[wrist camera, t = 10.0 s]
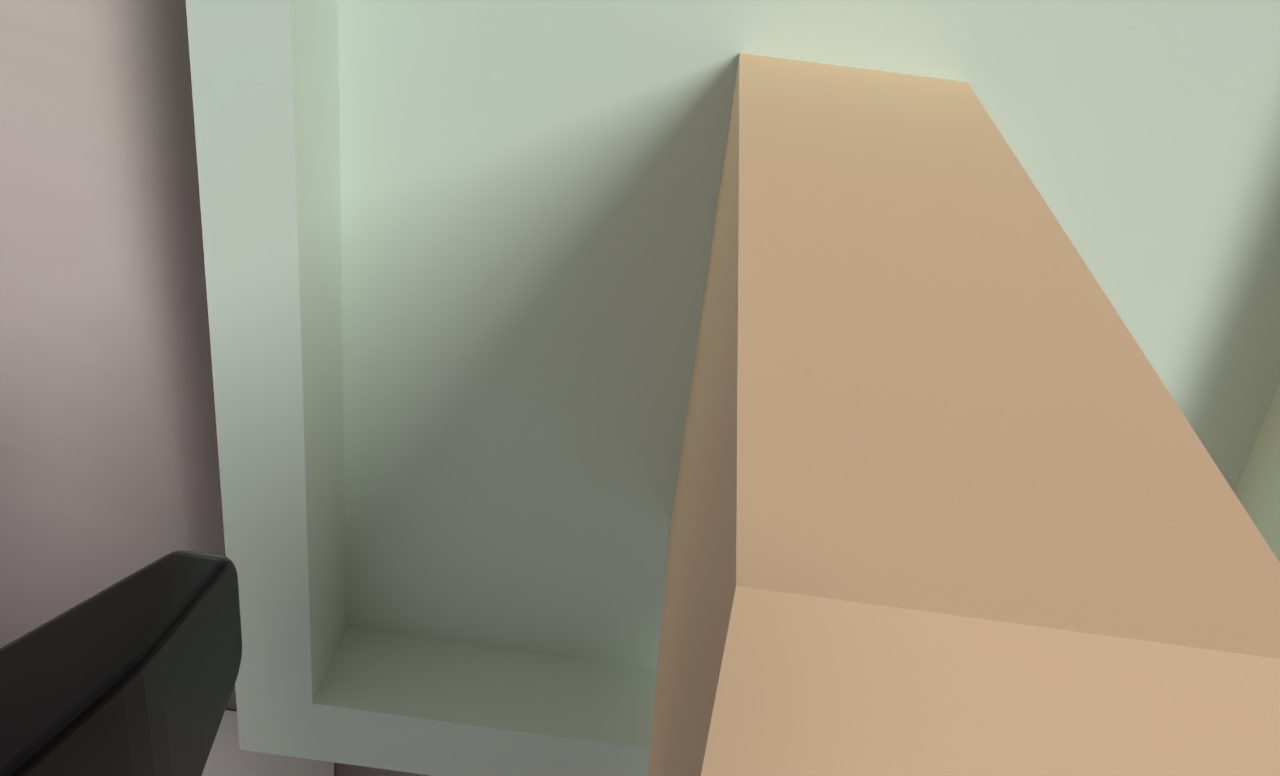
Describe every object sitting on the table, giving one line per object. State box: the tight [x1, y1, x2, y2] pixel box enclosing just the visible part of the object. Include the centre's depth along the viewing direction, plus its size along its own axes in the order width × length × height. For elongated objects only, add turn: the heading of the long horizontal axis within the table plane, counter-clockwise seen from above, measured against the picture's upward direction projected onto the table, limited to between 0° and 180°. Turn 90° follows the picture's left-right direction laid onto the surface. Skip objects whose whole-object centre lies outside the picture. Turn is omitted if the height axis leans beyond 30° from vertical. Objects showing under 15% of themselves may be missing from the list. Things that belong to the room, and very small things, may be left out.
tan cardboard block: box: [647, 53, 1280, 776], centre depth 10 cm, size 6×2×9 cm, turn 174°
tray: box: [186, 0, 1280, 776], centre depth 14 cm, size 13×13×2 cm
